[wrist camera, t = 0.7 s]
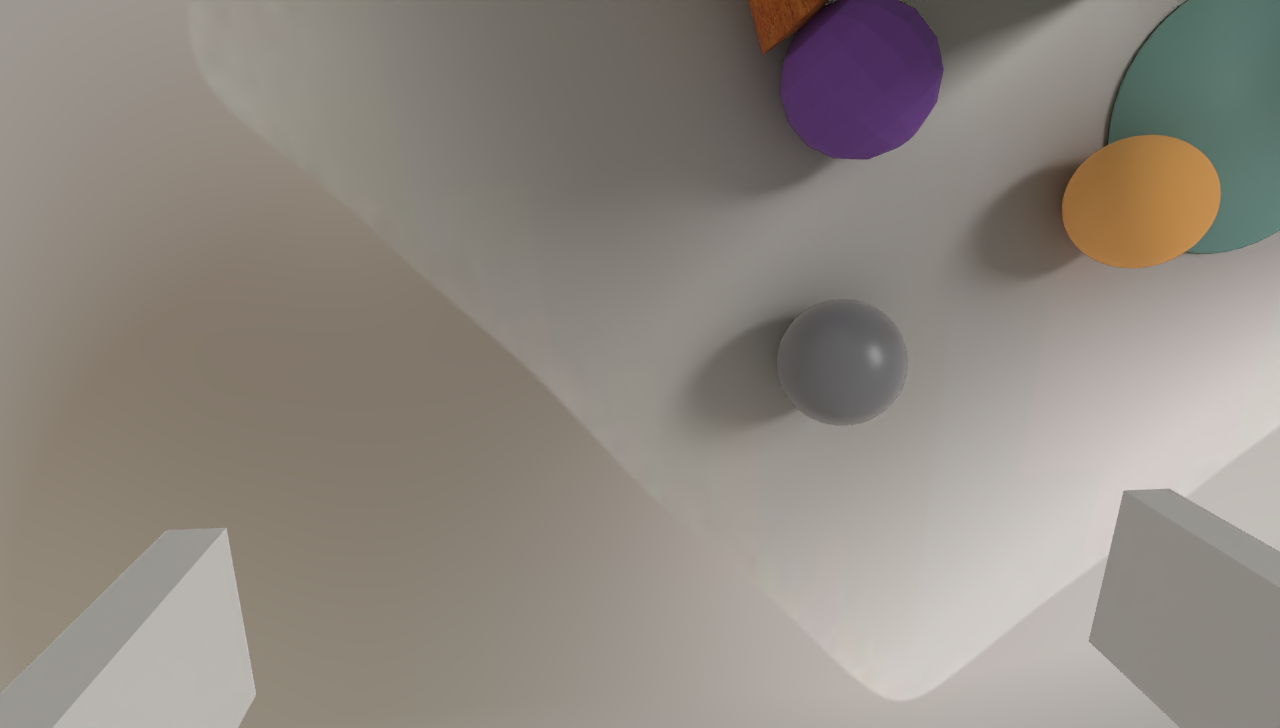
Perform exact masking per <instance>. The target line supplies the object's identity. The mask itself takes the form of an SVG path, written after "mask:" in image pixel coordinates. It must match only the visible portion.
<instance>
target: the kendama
mask: <svg viewBox="0 0 1280 728" xmlns="http://www.w3.org/2000/svg"><path fill="white" fill-rule="evenodd" d="M827 1H828V0H748V2H749V6H750V10H751V14H752V17H753V21H754V25H755V29H756V33H757V36H758V40H759V44H760V48H761V51H762V55H763V54H764V53H766V52H767V51H769V50H770V49H772V48H773V47H775V46H776V45H778V44H779V43H781V42H782V41H784V40H785V39H786V38H788V37H789V36H791V35H792V34H794V33H795V32H797V31H798V32H797V34H796V36H795V38H794V40H793V42H792V44H791V46H790V48H789V50H788V52H787V54H786V56H785V58H784V60H783V68H782V78H781V89H780V95H781V99H782V102H783V105H784V109H785V112H786V116H787V119H788V122H789V124H790V125H791V127H792V128H793V129H794V130H795V131H796V133H797V134H798V135H799V136H800V137H801V138H802V140H803V141H804V142H805V143H806V144H807V146H809V147H811V148H813V149H815V150H817V151H820V152H822V153H824V154H826V155H828V156H830V157H832V158H839V159H870V158H873V157H875V156H878V155H880V154H883V153H885V152H888V151H890V150H893V149H895V148H898V147H899V146H901V145H902V144H904V143H905V142H907V141H908V140H909V139H910V138H911V137H912V136H914V134H915V133H916V132H917V131H918V129H919V128H920V126H921V125H922V124H923V122H924V121H925V119H926V118H927V116H928V115H929V113H930V112H931V110H932V109H933V107H934V105H935V104H936V102H937V98H938V93H939V88H940V83H941V78H942V74H943V65H942V60H941V55H940V51H939V46H938V41H937V37H936V36H935V34H934V33H933V32H932V30H931V29H930V28H929V26H928V25H927V24H926V22H925V21H924V20H923V18H922V17H921V16H920V14H919V13H918V12H917V10H916V9H915V8H913V7H911V6H909V5H907V4H905V3H903V2H901V1H899V0H838V1H836V2H833V3H831V4H828V5H826V6H824V5H825V3H826V2H827ZM823 6H824V7H823Z"/></svg>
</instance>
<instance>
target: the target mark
mask: <svg viewBox="0 0 1280 728" xmlns="http://www.w3.org/2000/svg"><path fill="white" fill-rule="evenodd" d="M1140 135H1163V136H1169V137H1173V138H1177V139H1180V140H1182V141H1185V142H1187V143H1189V144H1191V145H1192V146H1194V147H1196V148H1197V149H1198V150H1200V151H1201V152H1202V153H1203V154H1204V155H1205V156H1206V157H1207V158H1208V159H1209V160H1210V162H1211V163H1212V165H1213V167H1214V168H1215V170H1216V172H1217V175H1218V178H1219V182H1220V190H1221V196H1220V205H1219V209H1218V212H1217V215H1216V217H1215V219H1214V221H1213V223H1212V225H1211V226H1210V228H1209V229H1208V231H1207V232H1206V233H1205V235H1204V236H1203V237H1202V238H1201V239H1200V240H1199V241H1198V242H1197V243H1196V244H1195V245H1194V246H1193V247H1191V248H1190V249H1189V250H1187V252H1193V253H1218V252H1226V251H1230V250H1235V249H1239V248H1242V247H1245V246H1248V245H1250V244H1253V243H1256V242H1258V241H1260V240H1262V239H1264V238H1266V237H1268V236H1270V235H1272V234H1274V233H1275V232H1277V231H1278V230H1280V0H1188V1H1186V2H1185V3H1183V4H1182V5H1181V6H1179V7H1178V8H1177V9H1176V10H1175V11H1174V12H1173V13H1171V14H1170V15H1169V16H1168V17H1167V18H1166V19H1165V20H1164V21H1163V22H1162V23H1161V24H1160V25H1159V26H1158V27H1157V29H1156V30H1155V31H1154V32H1153V33H1152V34H1151V35H1150V37H1149V38H1148V39H1147V41H1146V42H1145V43H1144V45H1143V46H1142V47H1141V49H1140V50H1139V52H1138V54H1137V55H1136V57H1135V59H1134V60H1133V62H1132V64H1131V65H1130V67H1129V69H1128V71H1127V73H1126V75H1125V77H1124V80H1123V82H1122V84H1121V86H1120V89H1119V92H1118V95H1117V98H1116V101H1115V103H1114V107H1113V112H1112V116H1111V120H1110V127H1109V136H1108V145H1109V144H1111V143H1113V142H1116V141H1118V140H1121V139H1125V138H1129V137H1133V136H1140Z"/></svg>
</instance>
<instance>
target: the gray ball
mask: <svg viewBox="0 0 1280 728" xmlns="http://www.w3.org/2000/svg"><path fill="white" fill-rule="evenodd" d="M907 362H908V359H907V351H906V347H905V344H904V341H903V338H902V336H901V334H900V332H899V331H898V329H897V328H896V326H895V325H894V324H893V322H892V321H891V320H890V319H889V318H888V317H887V316H886V315H884V314H883V313H882V312H880V311H879V310H877V309H876V308H874V307H872V306H870V305H867V304H865V303H862V302H858V301H853V300H831V301H827V302H823V303H820V304H817V305H815V306H813V307H811V308H809V309H807V310H805V311H804V312H803V313H801V314H800V315H799V316H798V317H797V318H795V319H794V321H793V322H792V323H791V324H790V325H789V327H788V328H787V330H786V331H785V333H784V335H783V337H782V339H781V342H780V345H779V349H778V353H777V371H778V377H779V380H780V383H781V386H782V388H783V390H784V392H785V394H786V395H787V397H788V398H789V400H790V401H791V402H792V403H793V404H794V406H795V407H796V408H798V409H799V410H800V411H801V412H802V413H804V414H805V415H807V416H809V417H810V418H812V419H815V420H817V421H819V422H822V423H826V424H831V425H853V424H858V423H862V422H865V421H868V420H870V419H872V418H874V417H876V416H877V415H879V414H880V413H882V412H883V411H884V410H886V409H887V408H888V407H889V406H890V405H891V404H892V403H893V402H894V400H895V399H896V398H897V396H898V394H899V393H900V391H901V389H902V387H903V384H904V381H905V378H906V373H907Z"/></svg>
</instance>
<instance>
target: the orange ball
mask: <svg viewBox="0 0 1280 728" xmlns="http://www.w3.org/2000/svg"><path fill="white" fill-rule="evenodd" d="M1220 196H1221V190H1220V182H1219V178H1218V175H1217V172H1216V170H1215V168H1214V167H1213V165H1212V163H1211V162H1210V160H1209V159H1208V158H1207V157H1206V156H1205V155H1204V154H1203V153H1202V152H1201V151H1200V150H1198V149H1197V148H1196V147H1194V146H1192V145H1191V144H1189V143H1187V142H1185V141H1182V140H1180V139H1177V138H1173V137H1169V136H1163V135H1140V136H1133V137H1129V138H1125V139H1121V140H1118V141H1116V142H1113V143H1111V144H1109V145H1107V146H1105V147H1103V148H1101V149H1100V150H1098V151H1097V152H1095V153H1094V154H1092V155H1091V156H1090V157H1089V158H1088V159H1086V160H1085V161H1084V162H1083V163H1082V164H1081V165H1080V166H1079V167H1078V169H1077V170H1076V171H1075V173H1074V174H1073V176H1072V178H1071V179H1070V181H1069V183H1068V185H1067V187H1066V190H1065V193H1064V197H1063V202H1062V218H1063V223H1064V226H1065V229H1066V231H1067V234H1068V236H1069V237H1070V239H1071V240H1072V242H1073V243H1074V244H1075V245H1076V246H1077V247H1078V249H1079V250H1080V251H1082V252H1083V253H1084V254H1086V255H1087V256H1088V257H1090V258H1092V259H1094V260H1096V261H1098V262H1100V263H1103V264H1106V265H1109V266H1114V267H1120V268H1143V267H1149V266H1154V265H1158V264H1161V263H1164V262H1166V261H1169V260H1171V259H1174V258H1176V257H1178V256H1180V255H1181V254H1183V253H1184V252H1186V251H1187V250H1189V249H1190V248H1191V247H1193V246H1194V245H1195V244H1196V243H1197V242H1198V241H1199V240H1200V239H1201V238H1202V237H1203V236H1204V235H1205V233H1206V232H1207V231H1208V229H1209V228H1210V226H1211V225H1212V223H1213V221H1214V219H1215V217H1216V215H1217V212H1218V209H1219V205H1220Z"/></svg>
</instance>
